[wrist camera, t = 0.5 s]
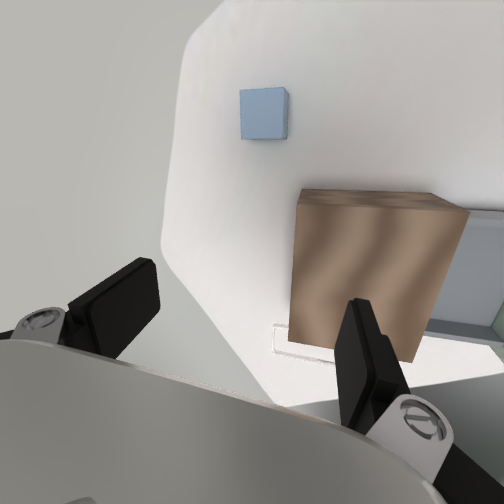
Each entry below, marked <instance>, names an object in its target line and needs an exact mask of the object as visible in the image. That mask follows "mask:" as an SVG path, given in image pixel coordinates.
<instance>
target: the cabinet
mask: <svg viewBox="0 0 504 504" xmlns="http://www.w3.org/2000/svg"><path fill="white" fill-rule="evenodd" d="M470 213H471V212H469V211H467V210H465V209H463V208H461V207H459V206H457V205H455V204H453V203H451V202H448V201H446V200H444V199H442V198H440V197H438V196H436V195H434V194H432V193H413V192H381V191H348V190H316V189H302V191H301V194H300V197H299V200H298V203H297V212H296V227H295V242H294V257H293V272H292V286H291V301H290V316H289V331H288V341H290V342H296V343H301V344H307V345H313V346H318V347H324V348H329V349H334V348H335V343H336V340H337V337H338V333H339V330H340V327H341V324H342V320H343V317H344V314H345V311H346V307H347V304H348V301H349V300H353V299H354V298H355V297H356V298H361V299H366V300H369V301H370V303H371V306H372V309H373V311H374V314H375V317H376V320H377V323H378V326H379V328H380V331H381V334H384V335H387V336H388V337H389V339H390V341H391V344H392V346H393V349H394V351H395V354H396V357H397V359H398V361H403V362H408V363H412V362H413V359H414V357H415V354H416V352H417V349H418V347H419V344H420V341H421V339H422V336H423V334H424V331H425V329H426V326H427V323H428V321H429V318H430V316H431V313H432V311H433V308H434V305H435V303H436V300H437V298H438V295H439V293H440V290H441V287H442V285H443V282H444V280H445V277H446V275H447V272H448V269H449V267H450V264H451V262H452V259H453V256H454V254H455V251H456V249H457V246H458V244H459V241H460V238H461V236H462V233H463V231H464V228H465V226H466V223H467V220H468V218H469V215H470Z"/></svg>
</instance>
